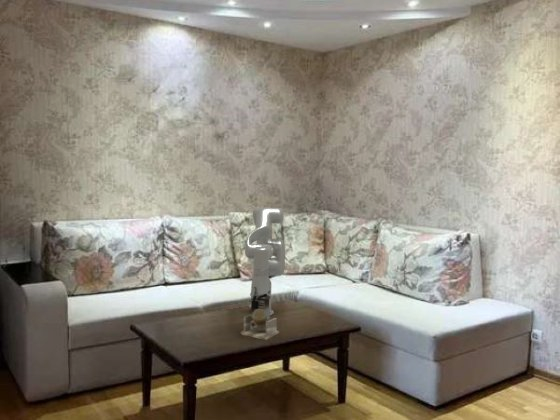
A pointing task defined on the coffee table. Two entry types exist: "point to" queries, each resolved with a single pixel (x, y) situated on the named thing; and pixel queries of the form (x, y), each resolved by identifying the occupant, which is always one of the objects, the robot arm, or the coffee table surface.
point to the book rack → (261, 334)
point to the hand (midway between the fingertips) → (260, 306)
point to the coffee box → (260, 313)
